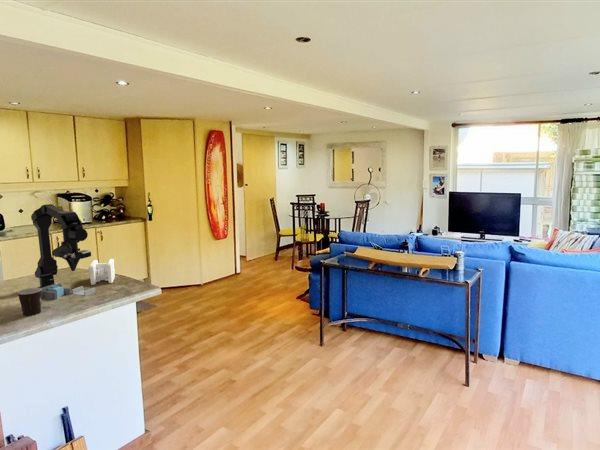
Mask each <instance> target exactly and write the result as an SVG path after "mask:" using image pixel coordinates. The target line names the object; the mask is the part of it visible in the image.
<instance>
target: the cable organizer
mask: <svg viewBox="0 0 600 450" xmlns="http://www.w3.org/2000/svg"><path fill="white" fill-rule="evenodd" d="M88 270H89V278H90V285H91V286H95V285H96V284H97V282H98V283H100V281H105V282H107V281H108V284H112V283H113V282H114V280H115V278H116V272H115V270H116V269H115V259H114V258H110V259H109V260H108V262H99V260H98V259H94V260H93V261H91V263H90V265H89V266H88Z"/></svg>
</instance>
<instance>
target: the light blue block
mask: <svg viewBox="0 0 600 450" xmlns="http://www.w3.org/2000/svg"><path fill="white" fill-rule="evenodd" d="M64 288H65V286H64V287H63V286H62V287H58V285H52V286H50V288H47V290H48V291H52V292H56V293H57V299H58V298H60V297H62V296H65V295H64Z"/></svg>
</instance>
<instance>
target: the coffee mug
mask: <svg viewBox="0 0 600 450" xmlns="http://www.w3.org/2000/svg"><path fill="white" fill-rule="evenodd" d="M17 295H18V300H19V303H20V304H19V305H20V306H21V311H22V315H23V316H25V317H32V315H33V316H37V315H39V314H41V312H42V311H41V310H42V298H41V289H40V288H37V287H31V288H30V287H29V288H25V289H21V290H18V292H17ZM36 314H37V315H36Z"/></svg>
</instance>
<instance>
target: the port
mask: <svg viewBox="0 0 600 450" xmlns="http://www.w3.org/2000/svg"><path fill="white" fill-rule="evenodd" d="M52 285H58V287H63V286H62V283H61V282H54V284H52ZM52 285H49V286H46V287H43V288H40V289H41V299H44V298H45V299H51V300H53V299H54V301H55V300H58V298H57V293H56V292H52V291H48V290H47V288H50V286H52ZM65 295H66V296H68V295H72V289H71V287H64V295H63V296H65Z"/></svg>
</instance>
